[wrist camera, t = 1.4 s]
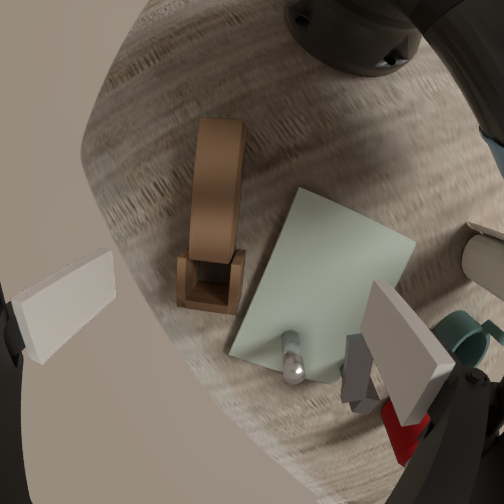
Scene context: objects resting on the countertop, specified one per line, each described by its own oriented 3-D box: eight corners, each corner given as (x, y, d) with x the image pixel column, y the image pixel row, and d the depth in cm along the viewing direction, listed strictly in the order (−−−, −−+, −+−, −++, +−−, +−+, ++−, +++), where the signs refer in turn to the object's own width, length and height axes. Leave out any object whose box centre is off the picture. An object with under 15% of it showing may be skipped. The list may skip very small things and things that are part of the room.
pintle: (285, 327, 29) (288, 365, 22) (302, 333, 29) (309, 371, 22) (278, 341, 29) (279, 381, 23) (294, 346, 29) (299, 386, 23)
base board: (298, 186, 26) (299, 187, 25) (411, 240, 27) (416, 242, 25) (230, 349, 31) (228, 354, 30) (332, 379, 32) (333, 385, 31)
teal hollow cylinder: (422, 368, 31) (448, 408, 23) (433, 314, 29) (469, 352, 20) (466, 352, 30) (494, 385, 22) (479, 300, 28) (516, 329, 19)
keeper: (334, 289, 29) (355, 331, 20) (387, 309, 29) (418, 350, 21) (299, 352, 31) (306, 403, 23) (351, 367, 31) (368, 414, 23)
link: (202, 127, 25) (187, 117, 20) (258, 131, 25) (255, 120, 20) (190, 286, 30) (176, 306, 25) (241, 293, 29) (236, 315, 25)
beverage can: (377, 421, 34) (396, 477, 23) (380, 395, 33) (405, 457, 21) (414, 409, 33) (438, 460, 22) (420, 382, 32) (451, 437, 20)
